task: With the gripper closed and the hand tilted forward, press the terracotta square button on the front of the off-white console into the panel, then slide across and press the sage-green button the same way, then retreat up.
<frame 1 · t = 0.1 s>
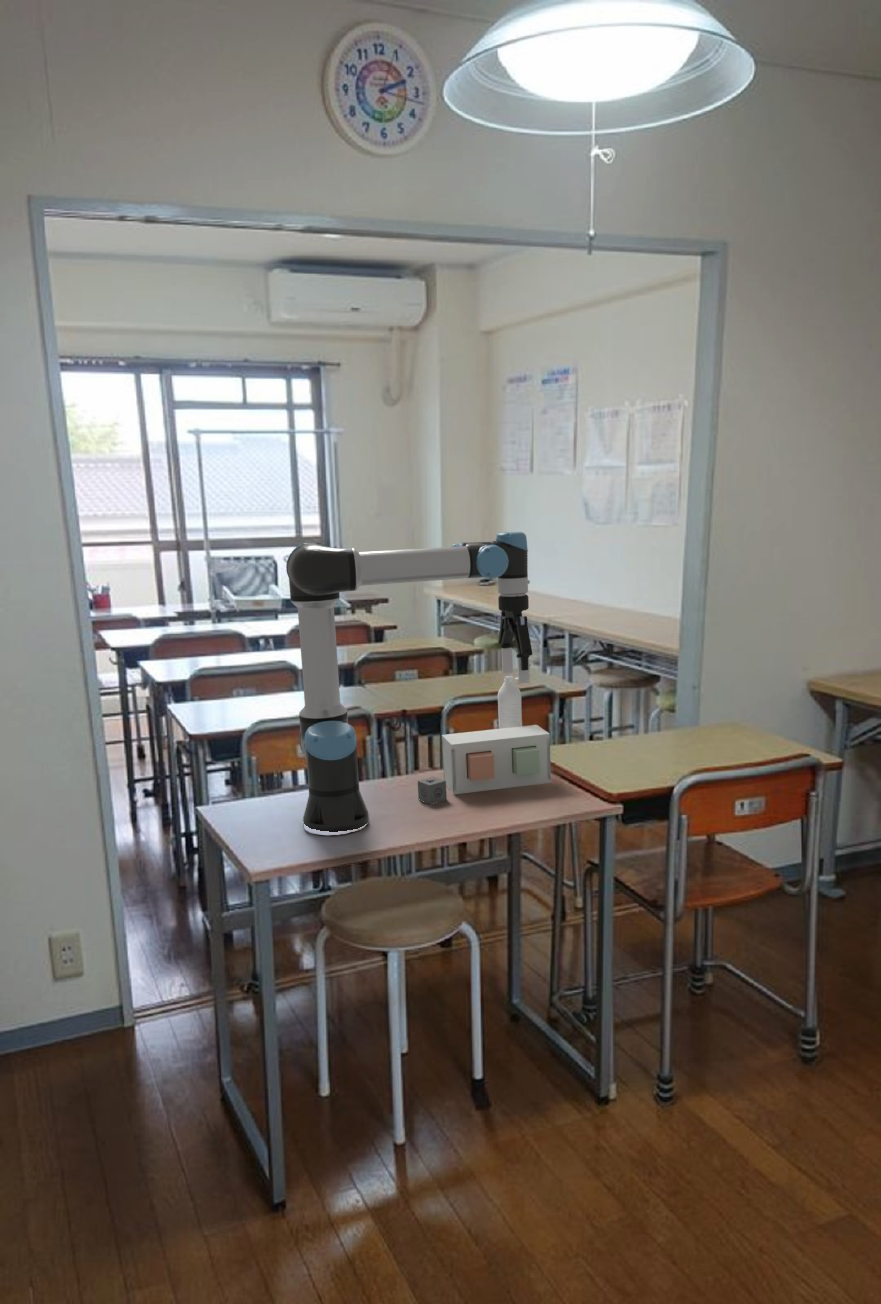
hand: (515, 677, 231), 28 cm above the table, tool pointing down, fingers open, 13 cm apart
water bottle: (514, 765, 252), on the table
console: (497, 782, 238), on the table
terracotta button: (478, 764, 231), point 7 cm above the table, slide at 0.0 cm
dice cube: (432, 800, 227), on the table
sage button: (523, 758, 234), point 7 cm above the table, slide at 0.0 cm
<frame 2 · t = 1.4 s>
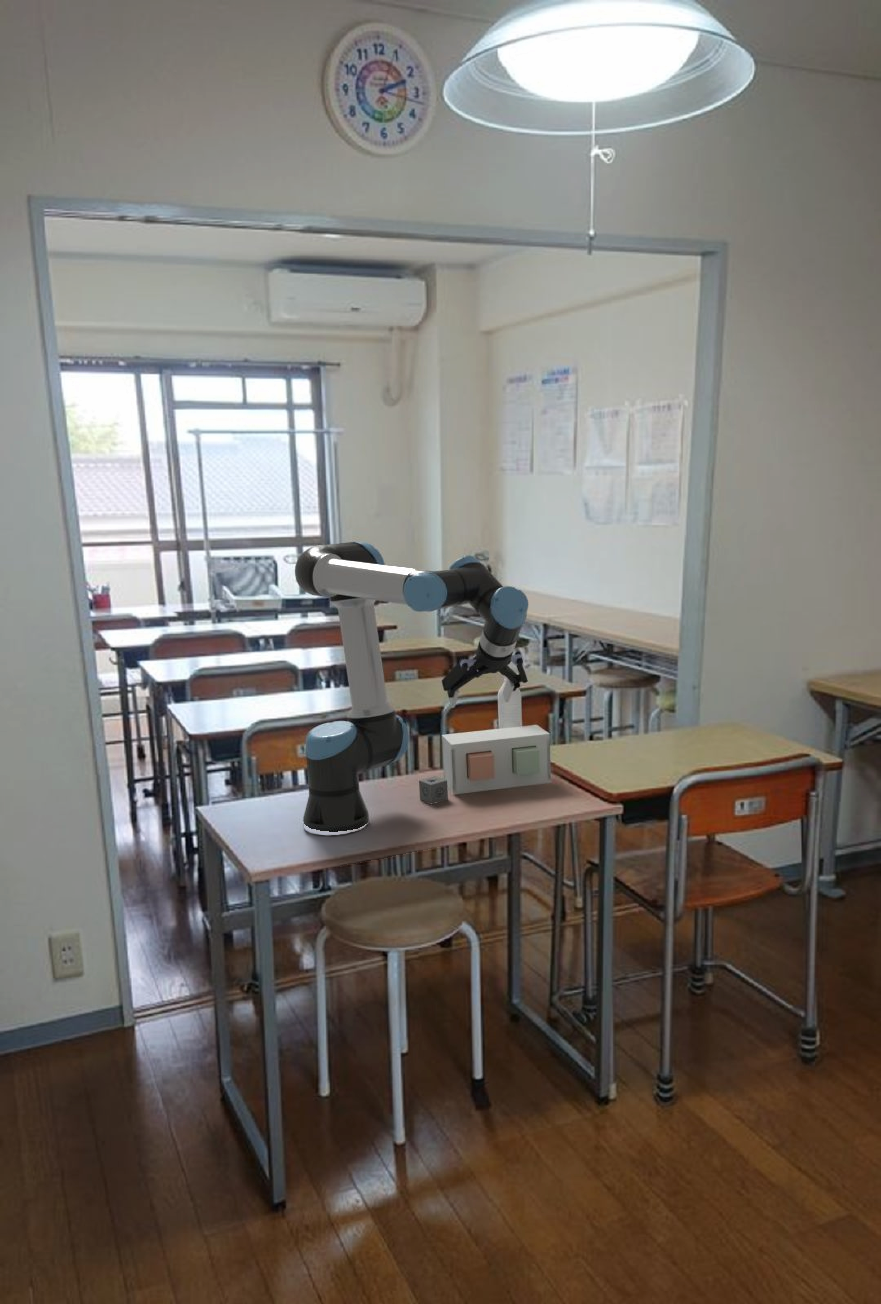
hand: (478, 700, 211), 27 cm above the table, tool tilted 45°, fingers open, 12 cm apart
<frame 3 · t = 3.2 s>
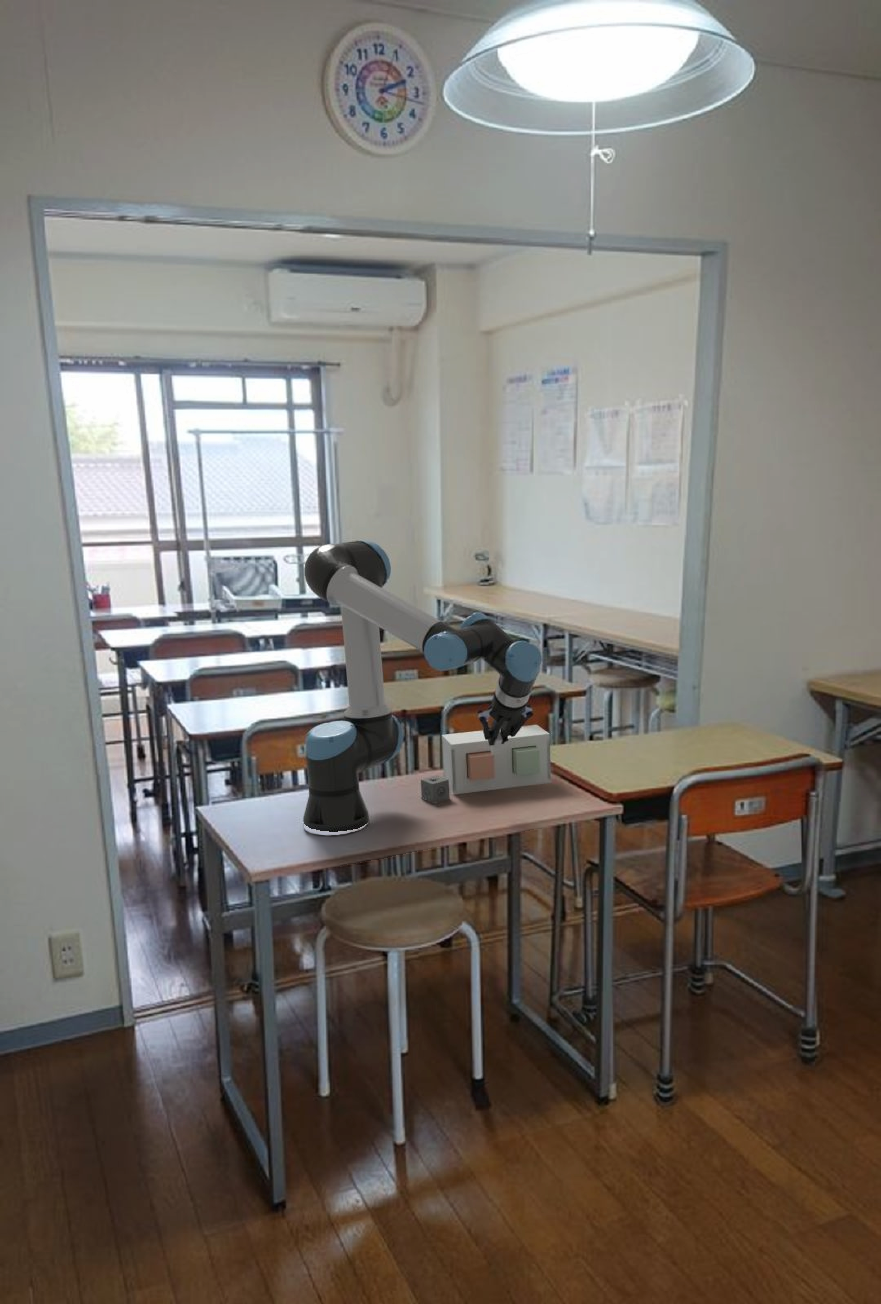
hand: (493, 749, 218), 14 cm above the table, tool tilted 45°, fingers closed
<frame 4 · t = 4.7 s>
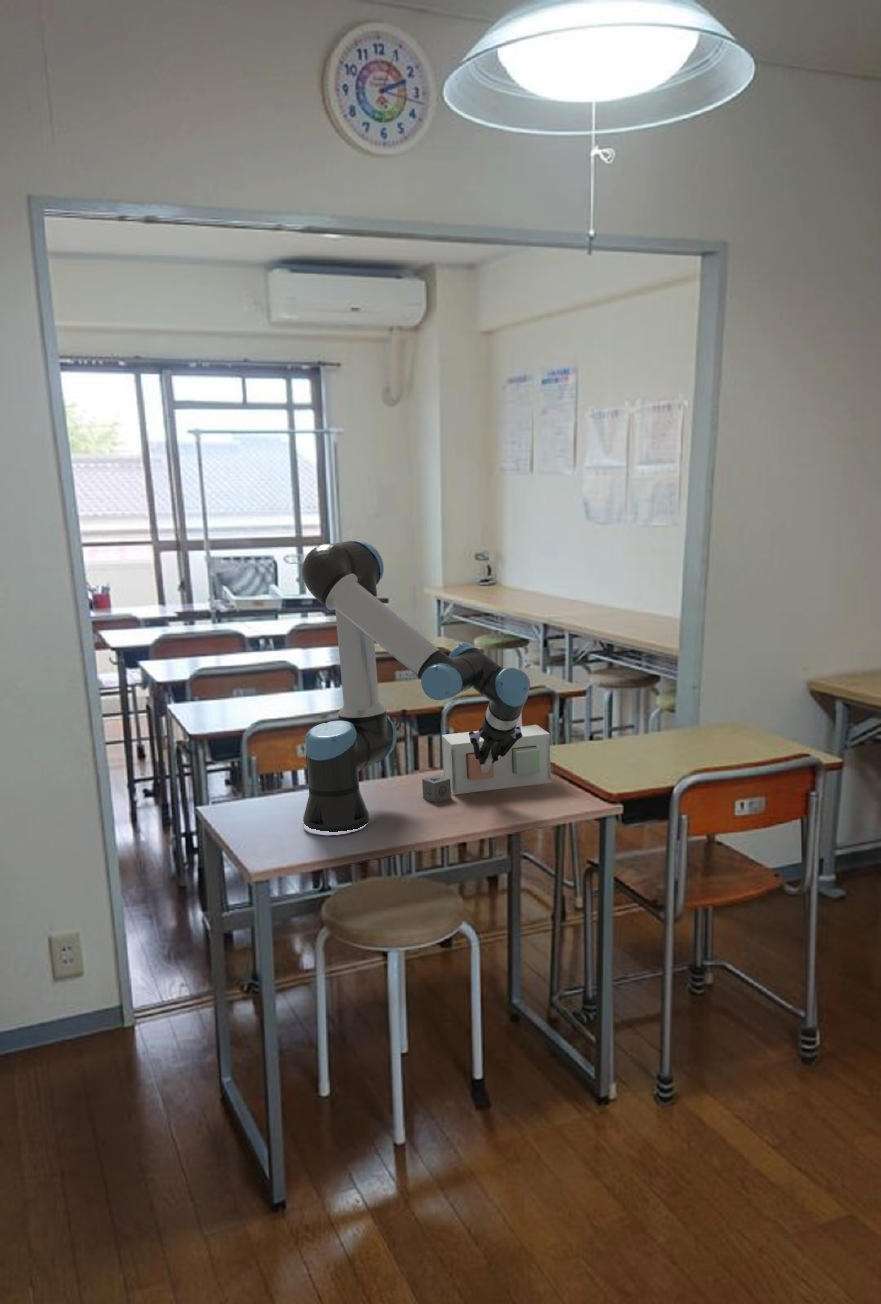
hand: (484, 768, 227), 7 cm above the table, tool tilted 45°, fingers closed
terracotta button: (478, 763, 231), point 7 cm above the table, slide at 0.4 cm, touching gripper
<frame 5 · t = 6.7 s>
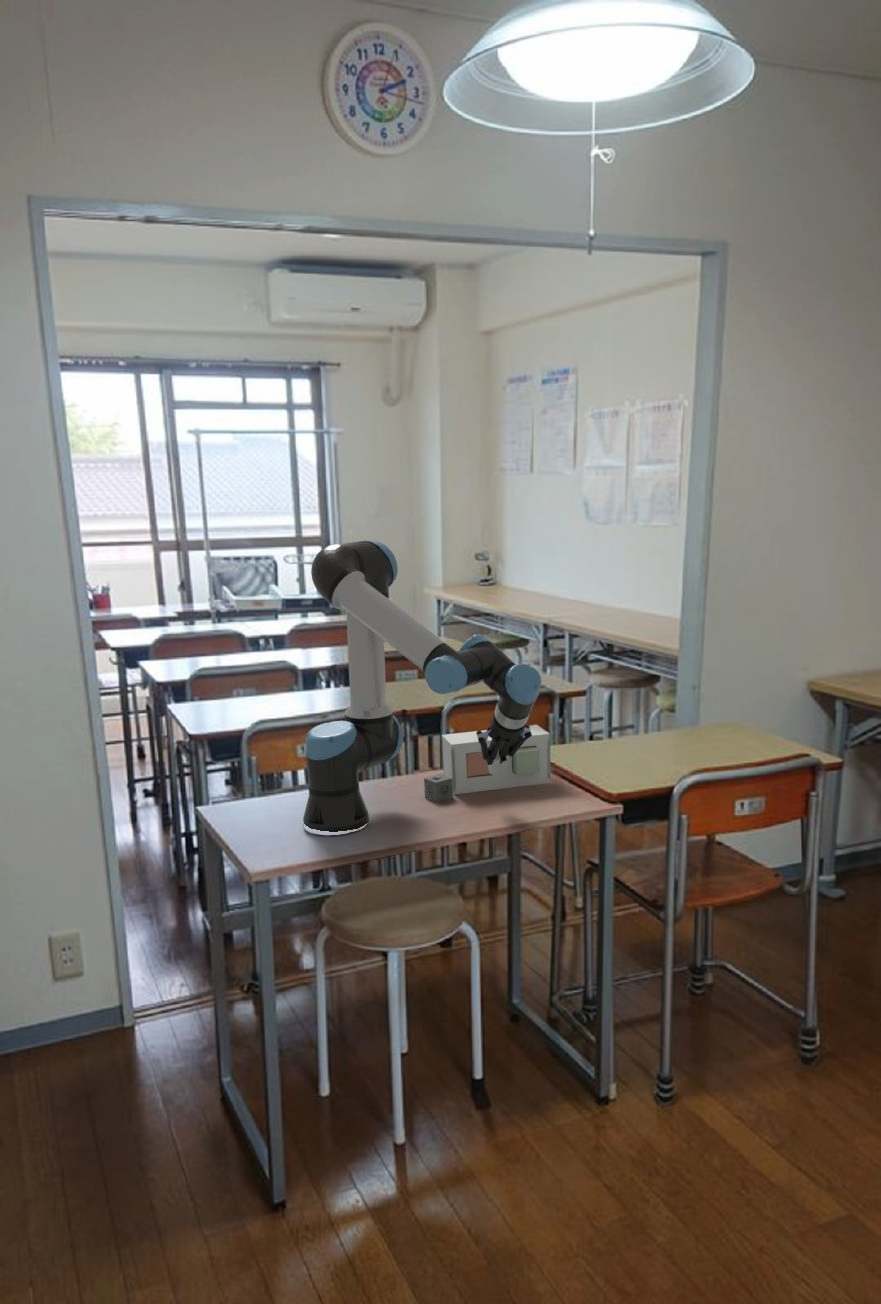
hand: (491, 768, 220), 9 cm above the table, tool tilted 45°, fingers closed
terracotta button: (474, 760, 234), point 7 cm above the table, slide at 3.7 cm
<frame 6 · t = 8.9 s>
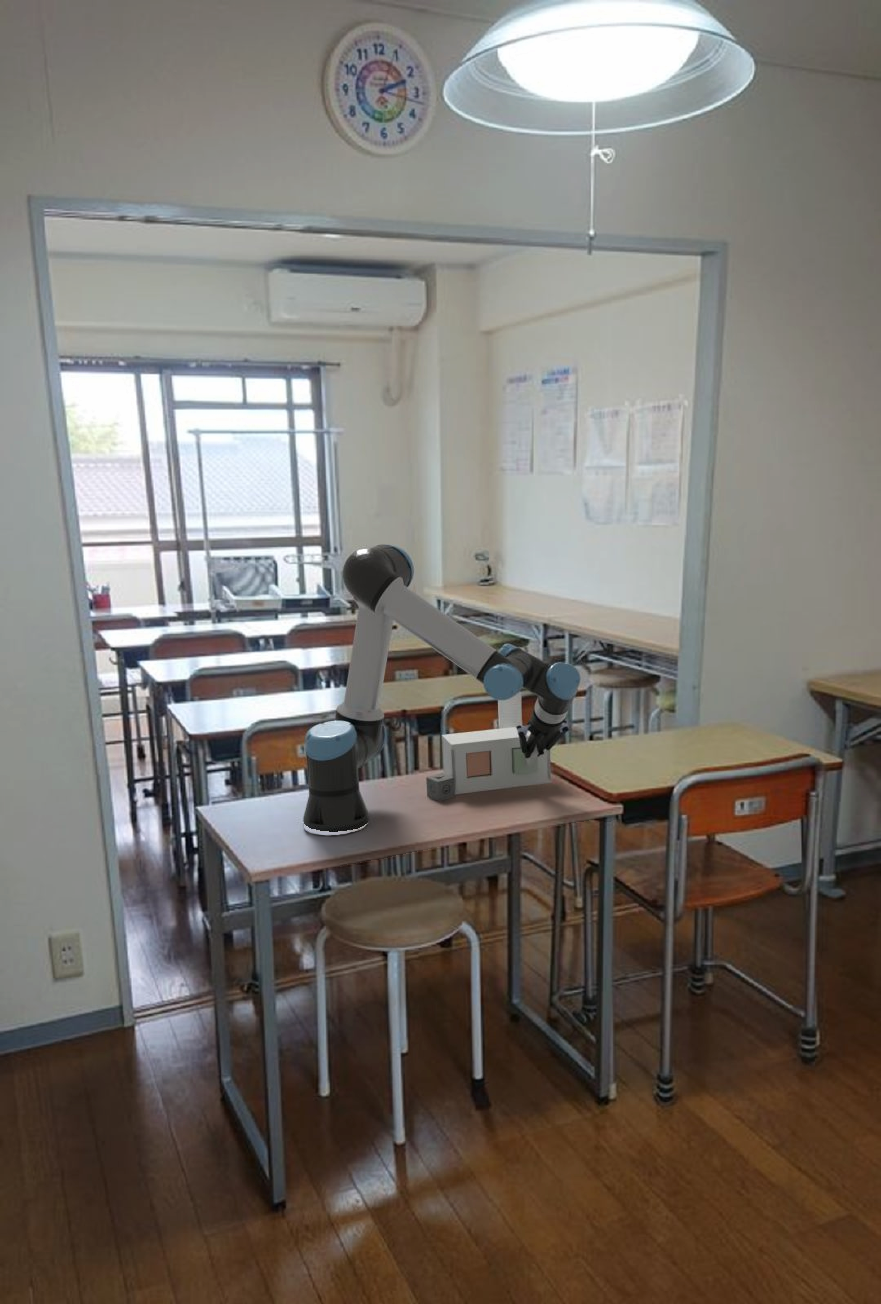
hand: (528, 761, 230), 7 cm above the table, tool tilted 45°, fingers closed
sage button: (522, 757, 235), point 7 cm above the table, slide at 1.3 cm, touching gripper
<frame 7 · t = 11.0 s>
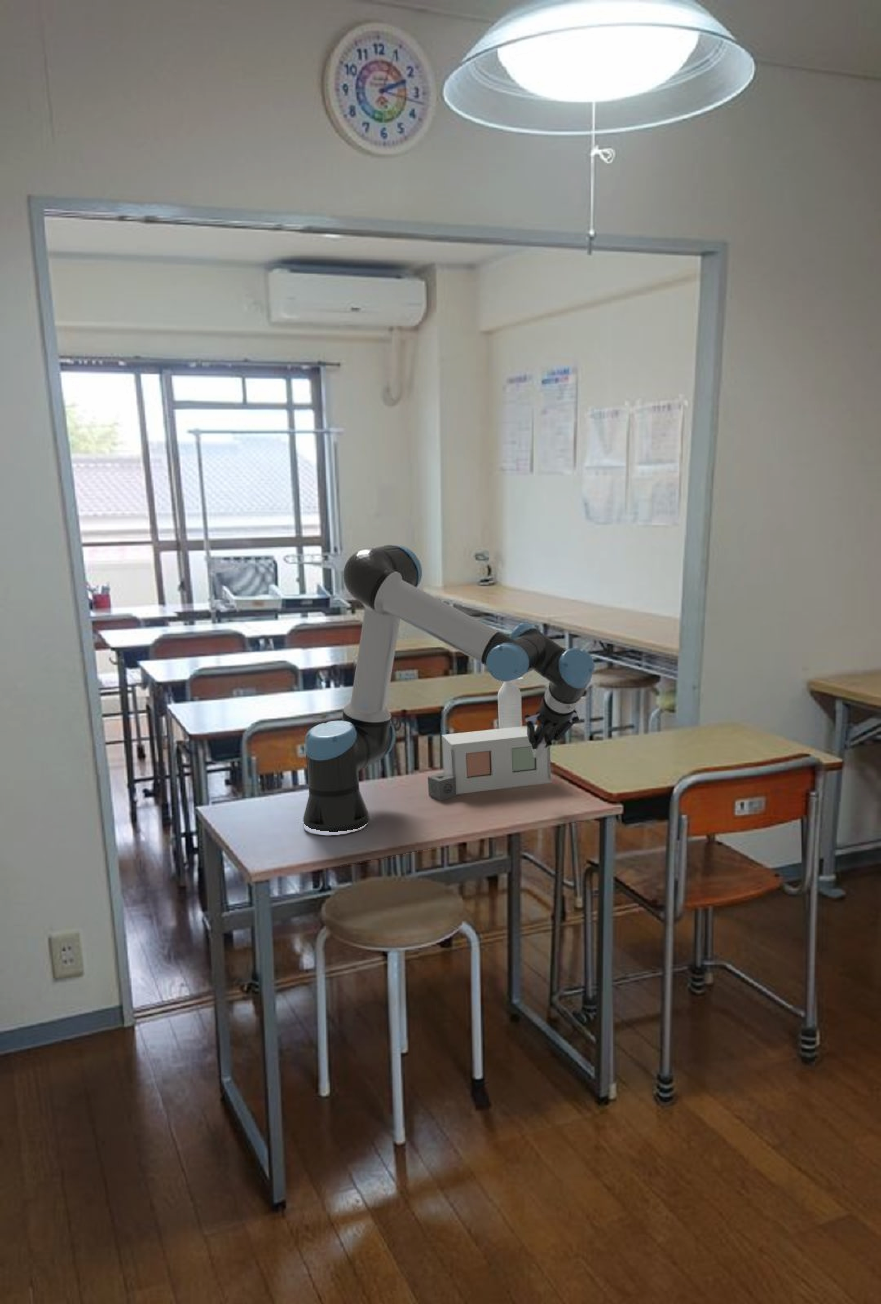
hand: (535, 752, 221), 12 cm above the table, tool tilted 45°, fingers closed
sage button: (519, 755, 237), point 7 cm above the table, slide at 3.7 cm
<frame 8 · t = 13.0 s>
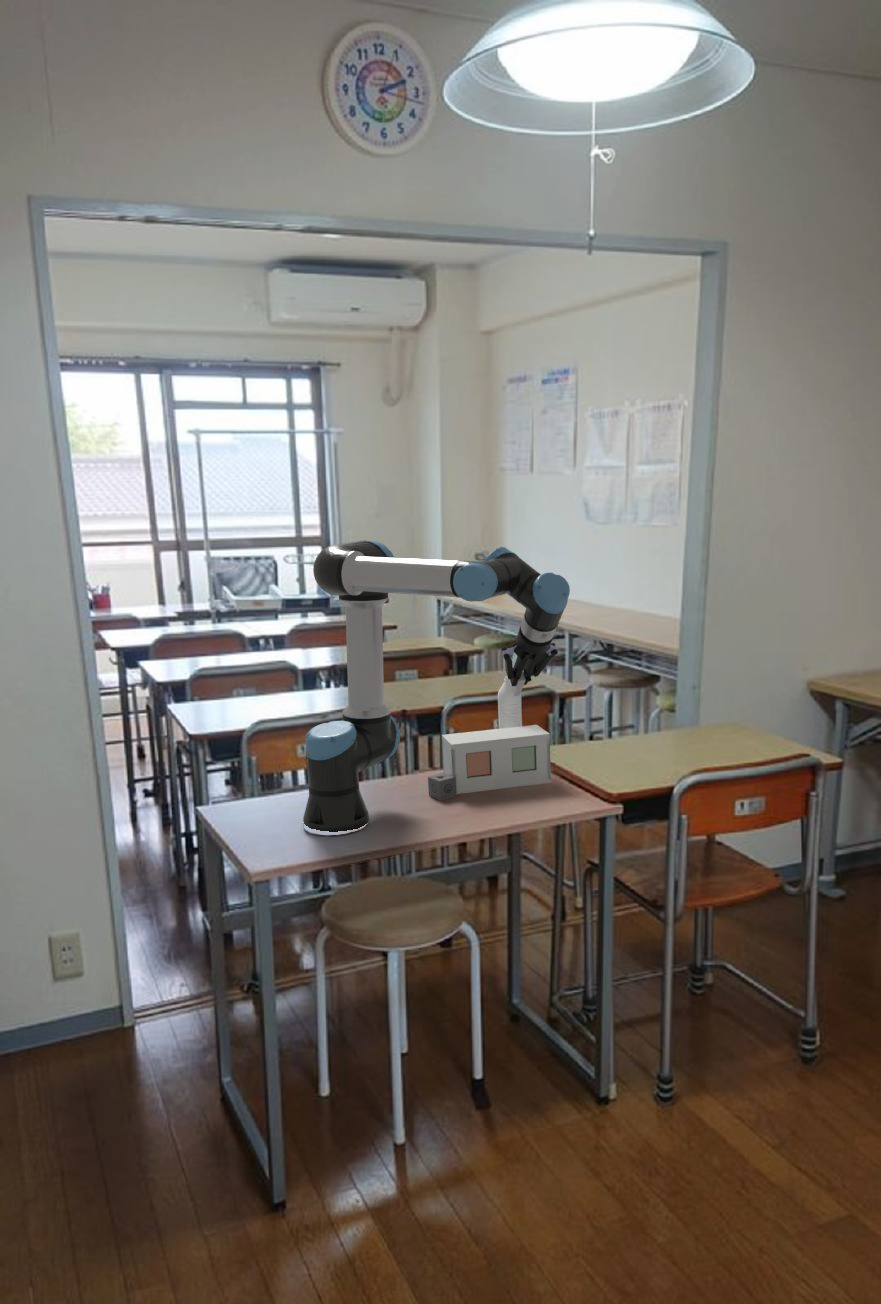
hand: (515, 691, 216), 28 cm above the table, tool tilted 45°, fingers closed
at the end: terracotta button slide at 3.7 cm; sage button slide at 3.7 cm; sage button touching nothing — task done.
